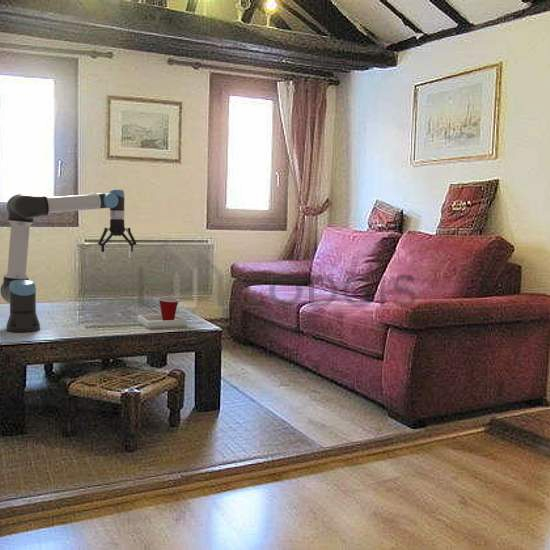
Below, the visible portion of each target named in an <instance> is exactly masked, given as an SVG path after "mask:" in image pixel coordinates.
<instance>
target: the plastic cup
mask: <svg viewBox="0 0 550 550" xmlns="http://www.w3.org/2000/svg"><path fill="white" fill-rule="evenodd" d="M179 301H180V299H179V298H176V297H173V296H172V297H170V296H163V297H162V296H161V297H158V302H159V305H160V314H162V319H163V321H166V320H174V319H175V314H177V307H178V303H179Z"/></svg>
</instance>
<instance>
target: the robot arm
mask: <svg viewBox="0 0 550 550" xmlns="http://www.w3.org/2000/svg"><path fill="white" fill-rule="evenodd" d="M6 209H7V213H8V216H7V217H8V218H7V221H8V222H9V223H10V234H9V247H8V260H7V270H6V271H7V273H5V274H4V275H3V278H2V279H3V280H2V281H3V283H2V284H1V286H0V295H1V297H2V299H3V300H4V301H5V302H6V303H8V304H9V316H8V320H7V322H6V326H5V327H6V331H7V332H9V333H31V332H36V331H39V330H40V329H41V323H40V320H39V317H38V316H37V315H38V314H37V312H36V311H37V309H36V308H37V299H36V297H37V295H36V294H37V293H36V291H37V288H36V283H35V281H32V280H29V279H30V277H29V276H28V275H27V264H28V252H29V250H28V249H29V238H30V229H31V228H30V227H31V225H32V224H34V218H38V217H46V216H49V215H50V214H54V213H55V214H56V213H66V212H75V211H76V212H78V211H88V210H98V209H109V218H110V220H109V227H104V228H103V232H102V234H101V236H100V238H99V240H98V241H97V245H99V246H101V247H100V249H101V253H103V256H102V257H103V259H107V256H106V255H107V251H106V250H107V247H106V244H107V243H108V242H109V241H110V240H111V239H112V237H113V236H114V237H123V239H124V240H125V241H126V242H127V243H128V244H129V245H128V258H129V259H131V258H132V252H134V246H136V245H137V242H136V240H135V238H134V235H133V234H132V231H131V228H130V227H125V191H124V190H123V189H109V192H89V193H88V194H78V195H77V194H76V195H66V196H65V195H64V196H63V195H62V196H50V197H48V196H46V195H31V194H22V193H19V194H15V195H12V196H11V197H9V199H8V200H7V203H6ZM125 231H126V233H127V234H128V236H129V238H130V239H129V238H128V237H127V235H126V234H125ZM108 232H109V234H108V235H107V233H108ZM106 235H107V237H106V238H105V236H106Z"/></svg>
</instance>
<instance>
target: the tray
mask: <svg viewBox="0 0 550 550" xmlns="http://www.w3.org/2000/svg"><path fill="white" fill-rule="evenodd" d="M137 323H139V324H140V323H141V324H142V325H141V324H140V325H141V326H143V328H146V329H147V330H153V329H155V330H156V329H167V328H181V327H182V328H184V327H185V328H187V325H188V324H187V319H186V318H184V317H183V316H181V315H178V314H177V313H176V314H175V319H174V320H166V321H163V319H162V314H161V313H154V314H138V315H137Z"/></svg>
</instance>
